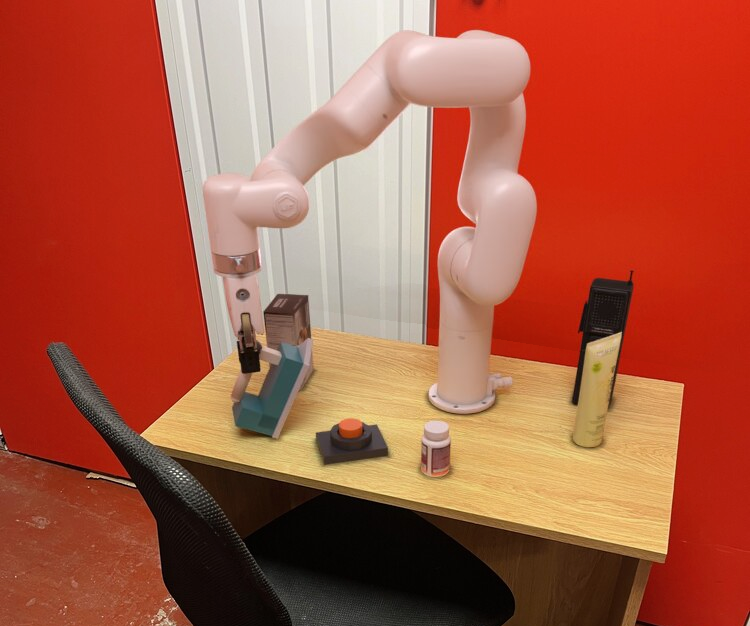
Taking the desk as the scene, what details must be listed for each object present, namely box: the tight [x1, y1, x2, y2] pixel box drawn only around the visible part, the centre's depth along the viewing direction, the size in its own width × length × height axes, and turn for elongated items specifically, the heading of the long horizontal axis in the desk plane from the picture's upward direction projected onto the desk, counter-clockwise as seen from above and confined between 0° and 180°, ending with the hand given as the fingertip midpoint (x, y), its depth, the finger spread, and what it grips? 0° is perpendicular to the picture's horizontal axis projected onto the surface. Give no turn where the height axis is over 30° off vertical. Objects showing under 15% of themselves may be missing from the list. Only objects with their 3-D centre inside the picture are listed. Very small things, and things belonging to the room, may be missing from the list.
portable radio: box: [571, 269, 635, 410], centre depth 139 cm, size 8×6×25 cm
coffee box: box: [262, 293, 314, 391], centre depth 150 cm, size 9×6×16 cm
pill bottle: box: [420, 419, 452, 478], centre depth 126 cm, size 5×5×8 cm
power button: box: [338, 417, 363, 438], centre depth 132 cm, size 4×4×2 cm
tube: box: [572, 332, 622, 448], centre depth 129 cm, size 6×5×20 cm
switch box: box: [315, 421, 389, 466], centre depth 133 cm, size 11×8×4 cm
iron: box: [230, 338, 314, 440], centre depth 133 cm, size 18×8×10 cm
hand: (249, 366), depth 131 cm, fingers closed on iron, 3 cm apart
